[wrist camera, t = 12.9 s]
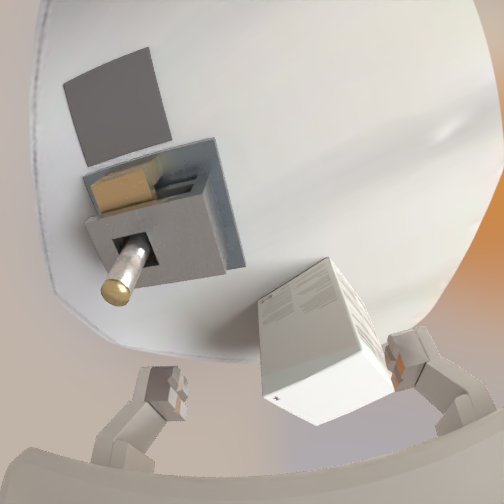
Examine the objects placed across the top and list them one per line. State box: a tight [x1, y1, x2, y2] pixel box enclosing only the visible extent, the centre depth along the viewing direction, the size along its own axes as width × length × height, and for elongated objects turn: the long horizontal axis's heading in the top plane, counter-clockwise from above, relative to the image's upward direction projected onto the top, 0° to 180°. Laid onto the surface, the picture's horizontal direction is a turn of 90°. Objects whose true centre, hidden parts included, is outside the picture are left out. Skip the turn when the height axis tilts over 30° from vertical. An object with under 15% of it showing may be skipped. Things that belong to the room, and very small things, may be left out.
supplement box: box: [257, 257, 395, 426], centre depth 41 cm, size 13×13×18 cm
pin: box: [101, 232, 152, 306], centre depth 33 cm, size 3×3×14 cm
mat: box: [63, 47, 172, 167], centre depth 31 cm, size 12×12×1 cm
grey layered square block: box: [83, 137, 246, 289], centre depth 36 cm, size 18×18×8 cm
